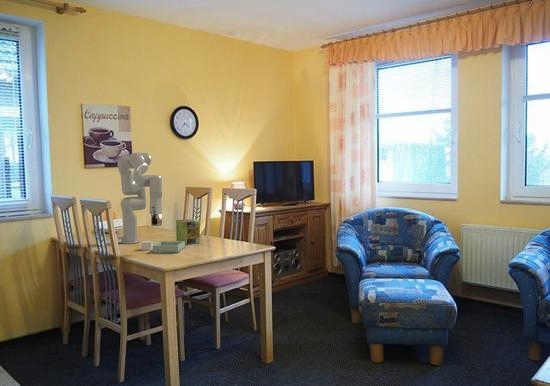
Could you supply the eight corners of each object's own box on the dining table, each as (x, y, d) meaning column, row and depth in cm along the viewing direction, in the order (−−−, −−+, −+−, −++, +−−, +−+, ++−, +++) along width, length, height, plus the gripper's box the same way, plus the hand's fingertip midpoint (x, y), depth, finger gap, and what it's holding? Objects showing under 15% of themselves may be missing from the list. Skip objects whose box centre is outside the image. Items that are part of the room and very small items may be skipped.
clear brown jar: (149, 226, 290) (149, 214, 290) (153, 224, 297) (153, 213, 296) (159, 226, 290) (159, 214, 289) (163, 224, 296) (163, 213, 296)
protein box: (186, 245, 316) (186, 222, 314) (176, 242, 327) (175, 220, 326) (200, 243, 322) (200, 220, 321) (189, 240, 334) (188, 218, 333)
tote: (152, 252, 290) (152, 245, 290) (160, 248, 306) (160, 241, 306) (178, 253, 289) (178, 245, 288) (184, 248, 305) (184, 241, 304)
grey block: (141, 250, 299) (141, 242, 299) (144, 248, 305) (144, 241, 305) (150, 250, 299) (150, 242, 299) (153, 248, 305) (153, 241, 305)
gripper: (154, 194, 301) (155, 221, 302) (144, 196, 284) (145, 225, 285) (166, 194, 300) (167, 222, 302) (156, 196, 283) (157, 226, 284)
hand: (156, 223), depth 293 cm, fingers closed on clear brown jar, 6 cm apart
